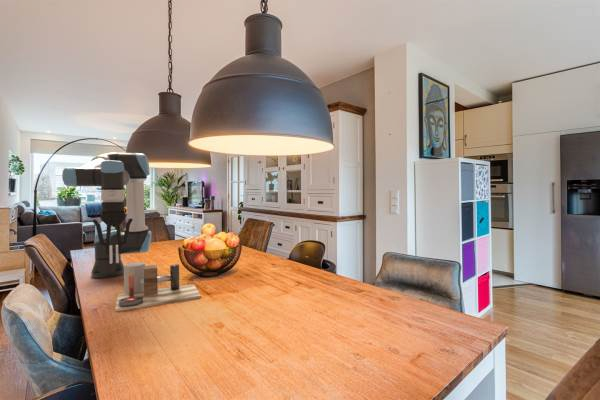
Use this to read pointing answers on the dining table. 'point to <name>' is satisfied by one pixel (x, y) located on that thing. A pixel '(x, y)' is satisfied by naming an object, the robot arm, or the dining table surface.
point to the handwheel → (134, 299)
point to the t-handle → (169, 277)
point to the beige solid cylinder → (138, 273)
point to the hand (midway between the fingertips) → (114, 262)
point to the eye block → (158, 292)
